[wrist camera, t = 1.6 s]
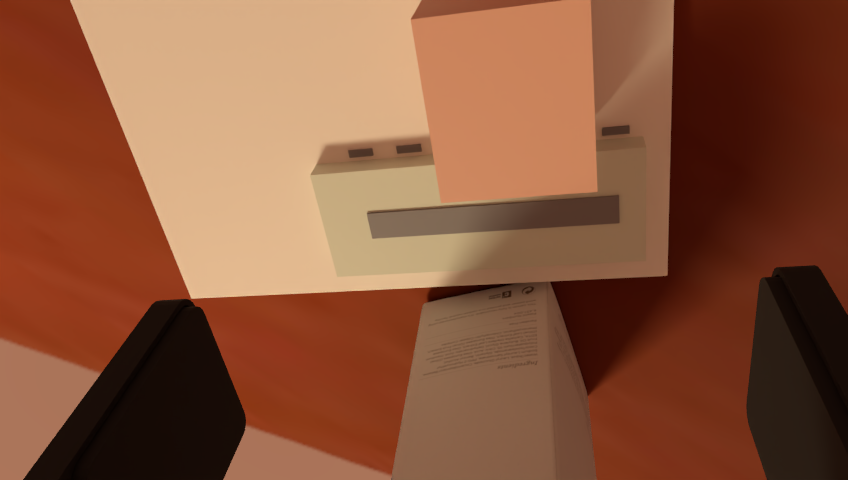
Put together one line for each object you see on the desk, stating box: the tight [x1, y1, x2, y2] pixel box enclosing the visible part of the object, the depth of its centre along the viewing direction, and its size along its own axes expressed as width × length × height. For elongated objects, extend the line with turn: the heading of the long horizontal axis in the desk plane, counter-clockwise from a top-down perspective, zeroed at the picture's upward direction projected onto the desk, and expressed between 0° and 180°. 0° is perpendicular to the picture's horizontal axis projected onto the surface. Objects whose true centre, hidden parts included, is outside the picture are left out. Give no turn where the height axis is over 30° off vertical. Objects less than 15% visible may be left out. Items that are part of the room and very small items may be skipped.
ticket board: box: [70, 0, 674, 299], centre depth 28 cm, size 22×16×2 cm
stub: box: [411, 0, 598, 203], centre depth 23 cm, size 5×6×5 cm
